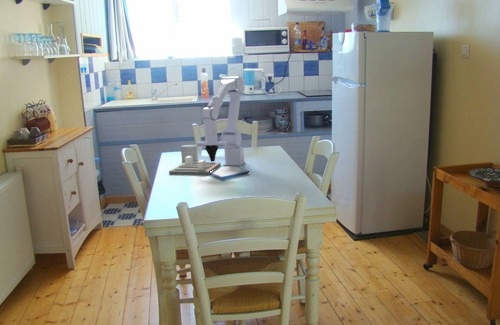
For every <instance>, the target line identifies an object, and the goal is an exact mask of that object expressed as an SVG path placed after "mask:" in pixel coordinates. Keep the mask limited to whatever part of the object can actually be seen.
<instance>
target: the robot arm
mask: <svg viewBox="0 0 500 325" xmlns="http://www.w3.org/2000/svg"><path fill="white" fill-rule="evenodd" d="M243 91H244V81H243V78H242V77H241V76H240V75H239V76H222V78H221V80H220V87H219V89H218V92H216V95H214V96H212V97H211V99H210V100H209V102H208V104H207V105H206V107H203V108H202V110H200V118H201V120H202V123H203V125H204V126H203V128H204V140H205V141H197V142H196V145H197V147H205V148H204V149H205V151H206V153H207V155H208V157H209V159H210V162H215V161H216V155H217V152H218V149H219V147H222V148H223V149H224V162H223V164H222V166H236V167H237V166H239V167H240V166H242V165H244V163H245V161H246V160H245V151H244V147H243V146H241V144H242V140H243V138H242V132H241V131H240V130H239V129H238V123H239V113H240V104H241V97H242V94H243ZM226 95H229V105H228V112H227V113H228V114H227V120H226V121H227V123H226V127H225V128H223V130H222V132H221V136H220V140H218V131H217V119H218V117H219V114H220V113H219V112H220V109H221V107H222V105H223V104H224V101H223V99H225V96H226Z"/></svg>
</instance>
